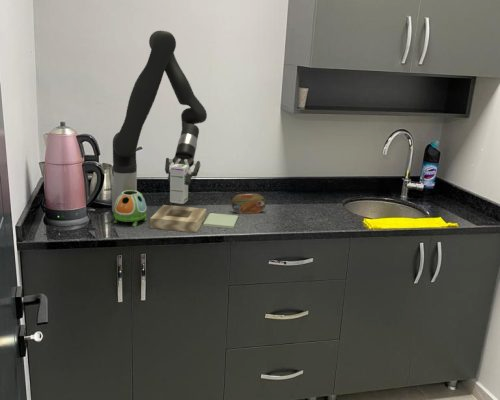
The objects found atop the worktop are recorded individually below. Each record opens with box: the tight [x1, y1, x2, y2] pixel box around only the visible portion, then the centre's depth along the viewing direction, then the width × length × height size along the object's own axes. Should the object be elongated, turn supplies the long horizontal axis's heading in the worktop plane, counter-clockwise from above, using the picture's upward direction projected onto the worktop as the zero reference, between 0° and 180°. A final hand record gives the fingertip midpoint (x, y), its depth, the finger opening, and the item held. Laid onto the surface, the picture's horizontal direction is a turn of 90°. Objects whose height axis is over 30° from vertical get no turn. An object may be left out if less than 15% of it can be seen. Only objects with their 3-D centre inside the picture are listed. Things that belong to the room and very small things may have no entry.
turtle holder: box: [113, 190, 148, 227], centre depth 199 cm, size 12×18×12 cm
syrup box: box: [169, 164, 190, 205], centre depth 195 cm, size 6×6×14 cm
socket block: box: [149, 204, 207, 233], centre depth 199 cm, size 18×18×4 cm
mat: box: [202, 212, 239, 230], centre depth 204 cm, size 12×14×1 cm
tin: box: [230, 193, 267, 215], centre depth 217 cm, size 15×3×8 cm, turn 105°
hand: (178, 183), depth 194 cm, fingers closed on syrup box, 6 cm apart
